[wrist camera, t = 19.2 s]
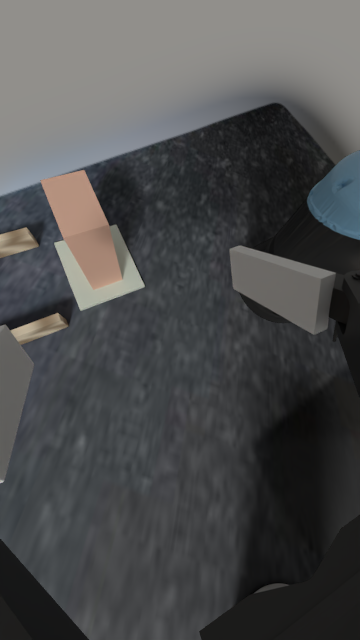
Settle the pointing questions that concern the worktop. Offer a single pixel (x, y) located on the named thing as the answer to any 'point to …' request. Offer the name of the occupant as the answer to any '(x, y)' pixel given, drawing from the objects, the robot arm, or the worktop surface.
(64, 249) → the sage mat
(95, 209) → the peach block
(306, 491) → the worktop surface
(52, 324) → the birch bay
